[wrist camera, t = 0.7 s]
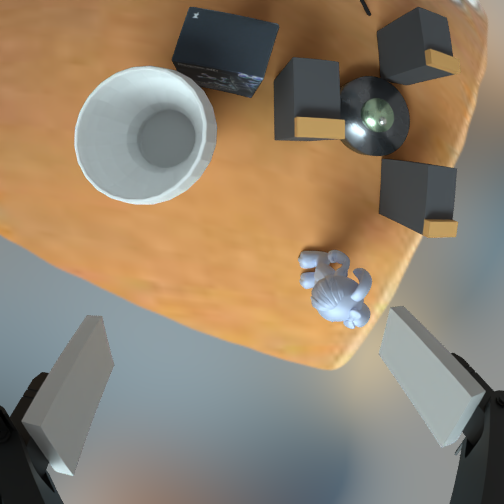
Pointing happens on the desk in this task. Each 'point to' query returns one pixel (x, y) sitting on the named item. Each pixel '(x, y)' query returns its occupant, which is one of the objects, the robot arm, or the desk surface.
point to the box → (224, 50)
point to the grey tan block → (308, 101)
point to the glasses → (365, 7)
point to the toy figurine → (336, 287)
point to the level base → (373, 116)
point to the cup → (145, 135)
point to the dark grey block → (419, 196)
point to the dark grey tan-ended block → (416, 48)
